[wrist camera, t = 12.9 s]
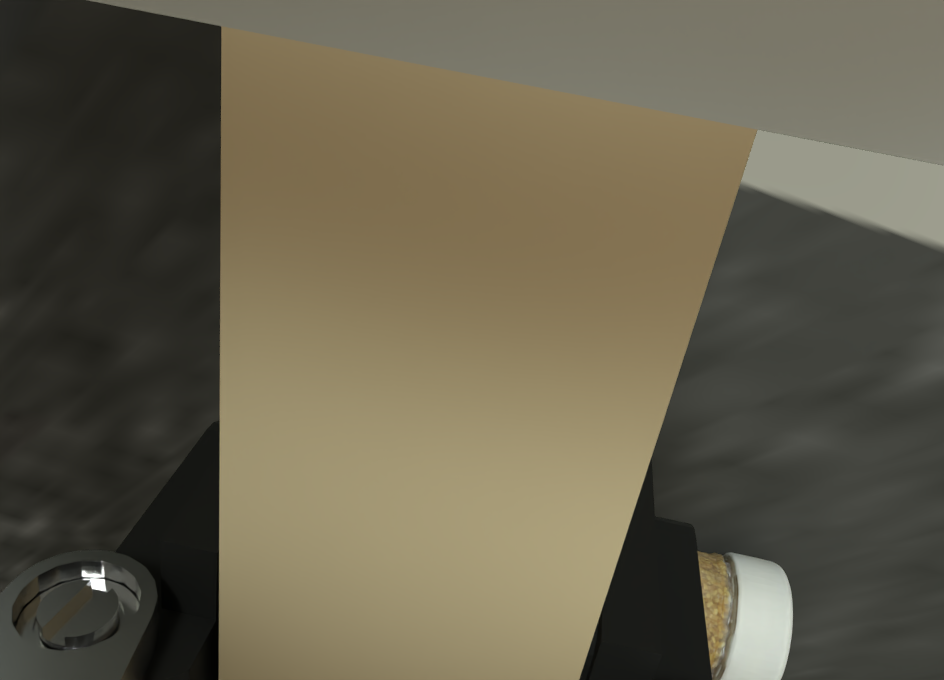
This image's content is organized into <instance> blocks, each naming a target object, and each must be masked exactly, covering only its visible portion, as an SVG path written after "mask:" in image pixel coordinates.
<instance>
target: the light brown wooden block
mask: <svg viewBox="0 0 944 680" xmlns="http://www.w3.org/2000/svg"><path fill="white" fill-rule="evenodd" d="M88 1H93V2H99V3H104V4H109V5H114V6H119V7H124V8H130V9H135V10H140V11H145V12H150V13H156V14H161V15H166V16H171V17H176V18H181V19H187V20H192V21H197V22H202V23H207V24H213V25H218V26H221V252H220V479H219V680H579V679H580V676H581V672H582V669H583V666H584V663H585V660H586V657H587V654H588V651H589V648H590V645H591V642H592V639H593V635H594V632H595V629H596V626H597V623H598V620H599V617H600V614H601V611H602V608H603V605H604V602H605V598H606V595H607V592H608V589H609V586H610V583H611V580H612V577H613V574H614V571H615V568H616V565H617V561H618V558H619V555H620V552H621V549H622V546H623V543H624V540H625V537H626V534H627V531H628V528H629V524H630V521H631V518H632V515H633V512H634V509H635V506H636V503H637V500H638V497H639V494H640V491H641V487H642V484H643V481H644V478H645V475H646V472H647V469H648V466H649V463H650V460H651V457H652V454H653V450H654V447H655V444H656V441H657V438H658V435H659V432H660V429H661V426H662V423H663V420H664V417H665V413H666V410H667V407H668V404H669V401H670V398H671V395H672V392H673V389H674V386H675V383H676V380H677V376H678V373H679V370H680V367H681V364H682V361H683V358H684V355H685V352H686V349H687V346H688V343H689V339H690V336H691V333H692V330H693V327H694V324H695V321H696V318H697V315H698V312H699V309H700V306H701V302H702V299H703V296H704V293H705V290H706V287H707V284H708V281H709V278H710V275H711V272H712V269H713V265H714V262H715V259H716V256H717V253H718V250H719V247H720V244H721V241H722V238H723V235H724V232H725V228H726V225H727V222H728V219H729V216H730V213H731V210H732V207H733V204H734V201H735V198H736V195H737V191H738V188H739V185H740V182H741V179H742V176H743V173H744V170H745V167H746V164H747V161H748V157H749V154H750V151H751V148H752V145H753V142H754V139H755V136H756V133H757V130H762V131H767V132H772V133H778V134H783V135H788V136H793V137H798V138H803V139H808V140H814V141H819V142H824V143H829V144H834V145H840V146H845V147H850V148H855V149H861V150H865V151H871V152H876V153H881V154H886V155H891V156H897V157H902V158H907V159H912V160H918V161H923V162H928V163H933V164H938V165H944V0H88Z"/></svg>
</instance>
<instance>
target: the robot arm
mask: <svg viewBox="0 0 944 680" xmlns="http://www.w3.org/2000/svg"><path fill="white" fill-rule="evenodd" d="M219 479H220V421H217V422H214V423H213V424H212V425H211V426H210V427H209V428H208V429H207V430H206V432H205V433H204V434H203V436H202V437H201V438H200V440H199V441H198V442H197V444H196V445H195V446H194V448H193V449H192V450H191V452H190V453H189V454H188V456H187V457H186V458H185V460H184V461H183V462H182V464H181V465H180V466H179V468H178V469H177V470H176V472H175V473H174V474H173V476H172V477H171V478H170V480H169V481H168V482H167V484H166V485H165V486H164V488H163V489H162V490H161V492H160V493H159V494H158V496H157V497H156V498H155V500H154V501H153V502H152V504H151V505H150V506H149V508H148V509H147V510H146V512H145V513H144V514H143V516H142V517H141V518H140V520H139V521H138V522H137V524H136V525H135V526H134V528H133V529H132V530H131V532H130V533H129V534H128V536H127V537H126V538H125V540H124V541H123V542H122V544H121V545H120V546H119V548H118V549H117V550H116V552H112V551H105V550H82V551H75V552H69V553H63V554H60V555H57V556H54V557H52V558H49V559H46V560H44V561H41V562H38V563H37V564H35V565H34V566H32V567H30V568H29V569H27V570H26V571H24V572H22V573H21V574H19V575H18V576H17V577H16V578H15V579H14V580H13V581H12V582H11V583H10V584H9V585H8V586H7V587H6V588H5V589H4V590H3V591H2V593H1V594H0V680H219ZM579 680H712V673H711V664H710V656H709V647H708V638H707V629H706V621H705V612H704V603H703V595H702V586H701V577H700V568H699V560H698V551H697V542H696V535H695V531H694V527H693V526H692V525H691V524H688V523H683V522H679V521H674V520H670V519H665V518H661V517H656V516H655V514H654V496H653V477H652V458H651V460H650V463H649V466H648V469H647V472H646V475H645V478H644V481H643V484H642V487H641V491H640V494H639V497H638V500H637V503H636V506H635V509H634V512H633V515H632V518H631V521H630V524H629V528H628V531H627V534H626V537H625V540H624V543H623V546H622V549H621V552H620V555H619V558H618V561H617V565H616V568H615V571H614V574H613V577H612V580H611V583H610V586H609V589H608V592H607V595H606V598H605V602H604V605H603V608H602V611H601V614H600V617H599V620H598V623H597V626H596V629H595V632H594V635H593V639H592V642H591V645H590V648H589V651H588V654H587V657H586V660H585V663H584V666H583V669H582V672H581V676H580V679H579Z"/></svg>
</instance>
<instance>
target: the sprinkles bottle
mask: <svg viewBox="0 0 944 680" xmlns="http://www.w3.org/2000/svg"><path fill="white" fill-rule="evenodd" d="M698 560H699V568H700V577H701V586H702V595H703V603H704V612H705V621H706V629H707V638H708V647H709V656H710V664H711V673H712V680H781V677H782V675H783V673H784V669H785V666H786V663H787V659H788V654H789V649H790V643H791V636H792V623H793V607H792V595H791V589H790V585H789V581H788V579H787V576H786V574H785V572H784V570H783V569H782V568H781V567H780V566H779V565H777V564H776V563H774V562H771V561H767V560H763V559H759V558H755V557H750V556H746V555H741V554H736V553H726V554H724V555H720V554H717V553H712V554H707V553H703V552H700V551H698Z"/></svg>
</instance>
